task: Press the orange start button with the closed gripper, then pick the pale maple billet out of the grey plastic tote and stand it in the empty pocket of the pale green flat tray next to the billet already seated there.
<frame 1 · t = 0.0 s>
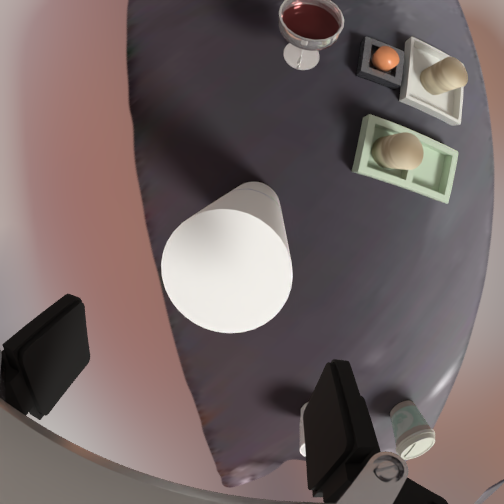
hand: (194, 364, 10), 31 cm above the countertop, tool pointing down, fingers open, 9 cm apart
wineglass: (301, 55, 32), on the countertop
billet: (431, 81, 31), resting on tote
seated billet: (386, 152, 35), point 1 cm above the countertop, touching pale green flat tray
cylindrical container: (253, 207, 39), on the countertop
button housing: (377, 65, 32), on the countertop
coffee cup: (401, 408, 49), on the countertop
white cup: (317, 408, 50), on the countertop
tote: (430, 82, 31), on the countertop
pale green flat tray: (404, 160, 35), on the countertop
button: (385, 59, 29), point 3 cm above the countertop, slide at 0.0 cm
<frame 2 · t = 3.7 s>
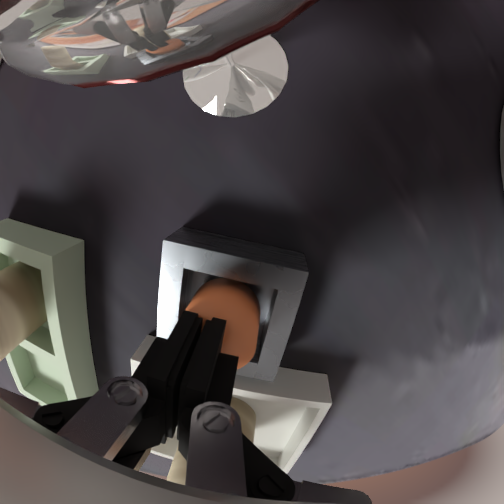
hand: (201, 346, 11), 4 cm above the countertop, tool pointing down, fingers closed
wineglass: (234, 69, 12), on the countertop
billet: (223, 415, 17), resting on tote
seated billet: (35, 289, 15), point 1 cm above the countertop, touching pale green flat tray
button housing: (231, 295, 15), on the countertop
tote: (224, 410, 17), on the countertop
pale green flat tray: (50, 324, 17), on the countertop
button: (221, 324, 12), point 3 cm above the countertop, slide at 0.2 cm, touching gripper
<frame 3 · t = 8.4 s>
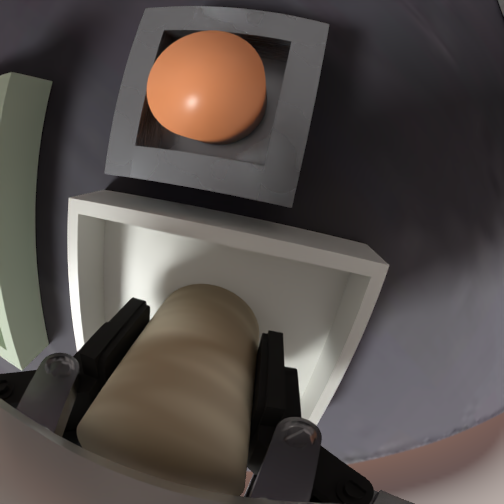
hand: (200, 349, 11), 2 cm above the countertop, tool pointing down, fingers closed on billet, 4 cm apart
billet: (207, 331, 12), point 1 cm above the countertop, touching gripper, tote
button housing: (223, 105, 10), on the countertop
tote: (209, 325, 12), on the countertop
button: (212, 91, 8), point 2 cm above the countertop, slide at 1.0 cm
when the fingers open (4 cm above the countertop, at t = 12.5 s): billet drops 1 cm, resting on pale green flat tray.
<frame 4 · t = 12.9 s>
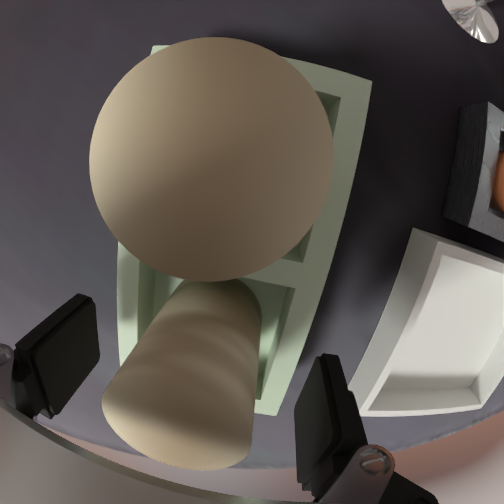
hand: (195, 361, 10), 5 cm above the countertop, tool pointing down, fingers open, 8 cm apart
wineglass: (469, 10, 8), on the countertop
billet: (214, 315, 13), point 1 cm above the countertop, touching pale green flat tray
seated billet: (241, 161, 11), point 1 cm above the countertop, touching pale green flat tray
button housing: (489, 179, 11), on the countertop
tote: (452, 328, 14), on the countertop
pale green flat tray: (229, 237, 13), on the countertop
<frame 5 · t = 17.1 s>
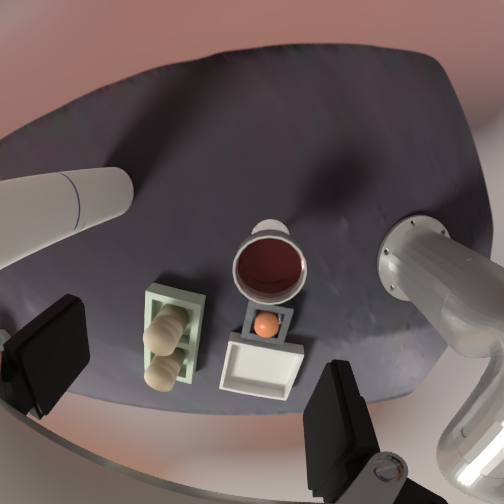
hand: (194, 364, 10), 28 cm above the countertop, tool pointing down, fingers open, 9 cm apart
wineglass: (270, 238, 37), on the countertop
billet: (172, 352, 43), point 1 cm above the countertop, touching pale green flat tray
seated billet: (174, 315, 41), point 1 cm above the countertop, touching pale green flat tray
cylindrical container: (112, 191, 37), on the countertop
button housing: (267, 315, 41), on the countertop
coffee cup: (7, 338, 49), on the countertop
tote: (260, 363, 43), on the countertop
pale green flat tray: (175, 331, 43), on the countertop
button: (266, 322, 39), point 2 cm above the countertop, slide at 1.0 cm
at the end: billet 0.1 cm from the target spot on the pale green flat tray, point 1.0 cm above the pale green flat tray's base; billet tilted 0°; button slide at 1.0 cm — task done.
